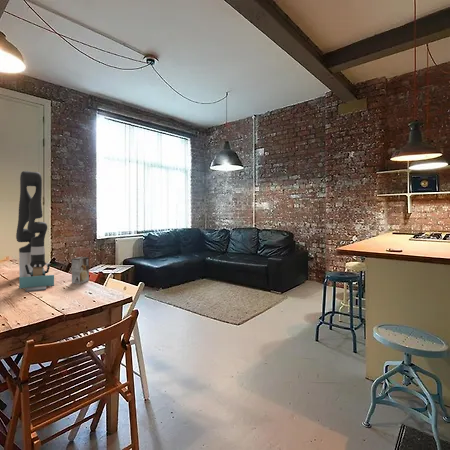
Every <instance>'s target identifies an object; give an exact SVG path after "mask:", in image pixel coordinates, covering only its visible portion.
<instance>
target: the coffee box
mask: <svg viewBox="0 0 450 450" xmlns="http://www.w3.org/2000/svg"><path fill="white" fill-rule="evenodd" d="M89 263H90V257H89V256H77V257H73V258H71V284H78V285H81V284H83V283H86V282H89V280H90V264H89Z"/></svg>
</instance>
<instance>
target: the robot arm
mask: <svg viewBox="0 0 450 450" xmlns="http://www.w3.org/2000/svg"><path fill="white" fill-rule="evenodd" d="M19 181H20V182H19V185H20V187H19V189H20V190H19V191H20V192H19V203H18V220H17V228H16V235H15V239H16V241H17V243H28V244H26V245H24V246H21V247H20V248H19V249H18V254H19V255H18V256H19V257H18V260H19V262H18V264H19V265H18V266H19V271H18V272H19V274H18V275H19V277H31V276H33V267H42V270H43V276H45V275H46V274H48V273H49V271H50V267H51V263H50V262H46V254H45V253H46V250H45V249H46V248H45V238H46V234H47V231H48V224H47V223H46V222H45V221H36V220H37V219H41V218H43V207H42V206H43V205H42V194H43V193H42V192H43V191H42V189H43V188H42V187H43V179H42V175H41V173H40V172H38V171H28V170H27V171H26V170H24V171H21V173H20V177H19ZM28 187H35V191H34V194H33V195H32V196H31V194H30V193H29V191H28ZM26 225H27V228H25V227H26ZM36 234H38V235H37V236H36ZM45 266H46V270H45V268H44V267H45Z"/></svg>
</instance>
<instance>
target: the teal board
mask: <svg viewBox="0 0 450 450" xmlns="http://www.w3.org/2000/svg"><path fill="white" fill-rule="evenodd" d="M18 279H19V280H18V283H19V284H18V285H19V286H18V287H19V288H18V289H26V288H27V287H37V286H46V287H50V286H55V275H54V274H48V275H46V274H45V276H31V277H19V278H18Z"/></svg>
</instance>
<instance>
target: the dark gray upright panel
mask: <svg viewBox="0 0 450 450" xmlns="http://www.w3.org/2000/svg"><path fill="white" fill-rule="evenodd" d="M46 290H47V286H37V287H27V288H25V290H24V291H25V293H28V292H31V293H32V292H41V291H46Z"/></svg>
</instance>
